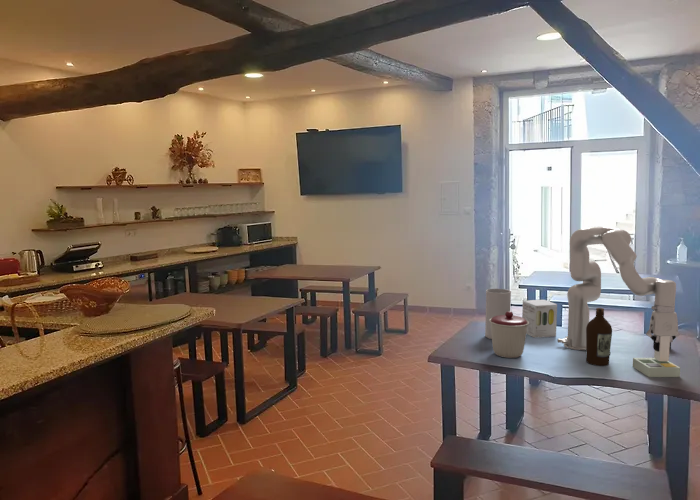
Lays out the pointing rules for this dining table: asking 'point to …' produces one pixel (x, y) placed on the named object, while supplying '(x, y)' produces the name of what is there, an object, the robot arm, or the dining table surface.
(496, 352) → the canister
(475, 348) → the dining table surface
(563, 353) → the dining table surface
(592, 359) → the olive oil
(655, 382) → the dining table surface
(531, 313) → the supplement box
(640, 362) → the socket block
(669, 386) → the dining table surface
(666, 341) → the plug
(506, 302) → the cylinder vase
